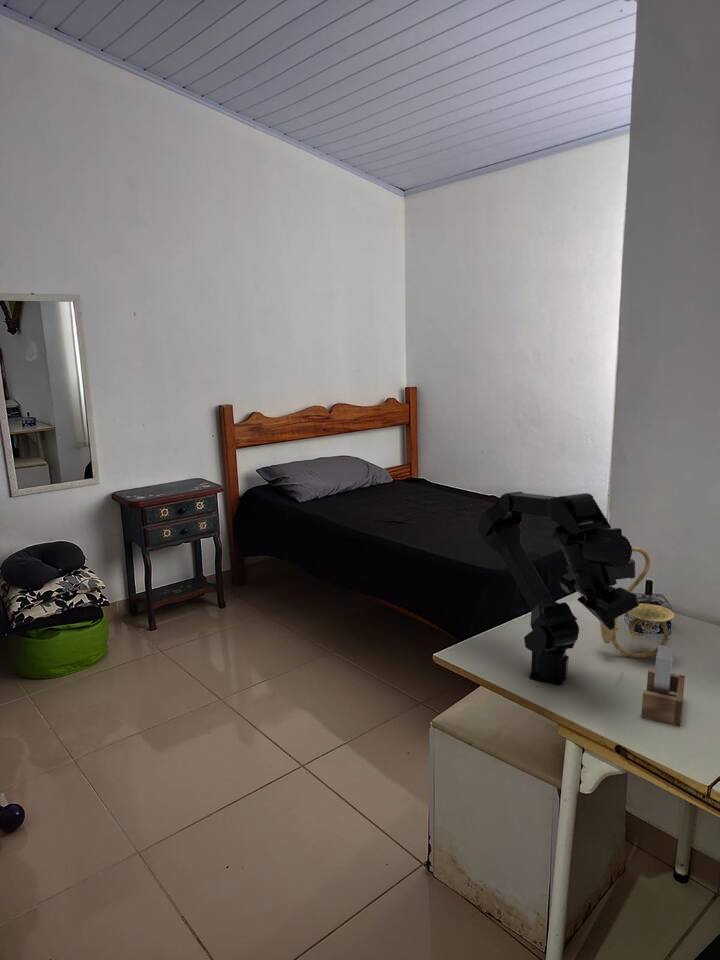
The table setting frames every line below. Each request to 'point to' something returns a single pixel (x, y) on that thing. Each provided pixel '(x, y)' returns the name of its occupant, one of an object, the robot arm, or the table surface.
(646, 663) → the table surface
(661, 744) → the table surface
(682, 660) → the table surface
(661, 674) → the angle bracket
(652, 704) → the walnut u-shaped bracket
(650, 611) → the wall sconce
